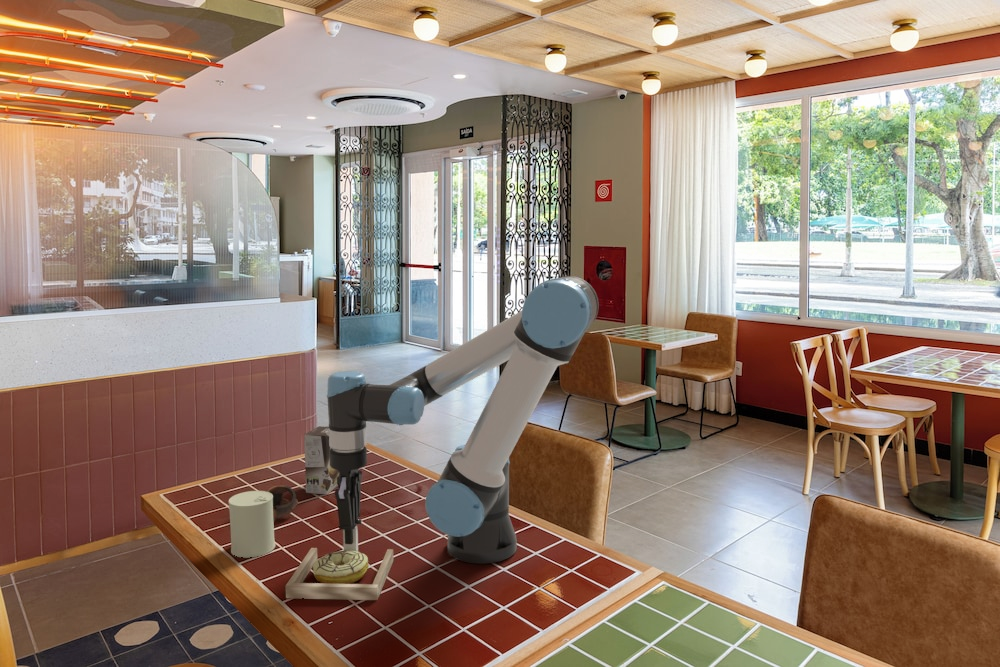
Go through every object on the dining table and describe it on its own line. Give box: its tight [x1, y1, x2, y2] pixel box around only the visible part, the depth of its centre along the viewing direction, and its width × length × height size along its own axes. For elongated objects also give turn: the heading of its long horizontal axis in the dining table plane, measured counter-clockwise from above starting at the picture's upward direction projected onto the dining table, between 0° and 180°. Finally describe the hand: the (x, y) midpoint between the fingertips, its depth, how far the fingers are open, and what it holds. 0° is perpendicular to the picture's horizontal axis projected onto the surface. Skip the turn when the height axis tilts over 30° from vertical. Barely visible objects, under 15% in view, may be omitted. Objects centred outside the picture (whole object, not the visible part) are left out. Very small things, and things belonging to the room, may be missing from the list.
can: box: [228, 490, 276, 559], centre depth 153 cm, size 9×9×12 cm
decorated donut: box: [312, 550, 369, 584], centre depth 142 cm, size 10×11×4 cm
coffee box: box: [303, 425, 339, 495], centre depth 189 cm, size 9×6×16 cm
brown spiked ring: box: [266, 484, 299, 522], centre depth 172 cm, size 12×9×8 cm
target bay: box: [284, 547, 395, 601], centre depth 140 cm, size 17×16×2 cm
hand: (351, 555), depth 148 cm, fingers closed
